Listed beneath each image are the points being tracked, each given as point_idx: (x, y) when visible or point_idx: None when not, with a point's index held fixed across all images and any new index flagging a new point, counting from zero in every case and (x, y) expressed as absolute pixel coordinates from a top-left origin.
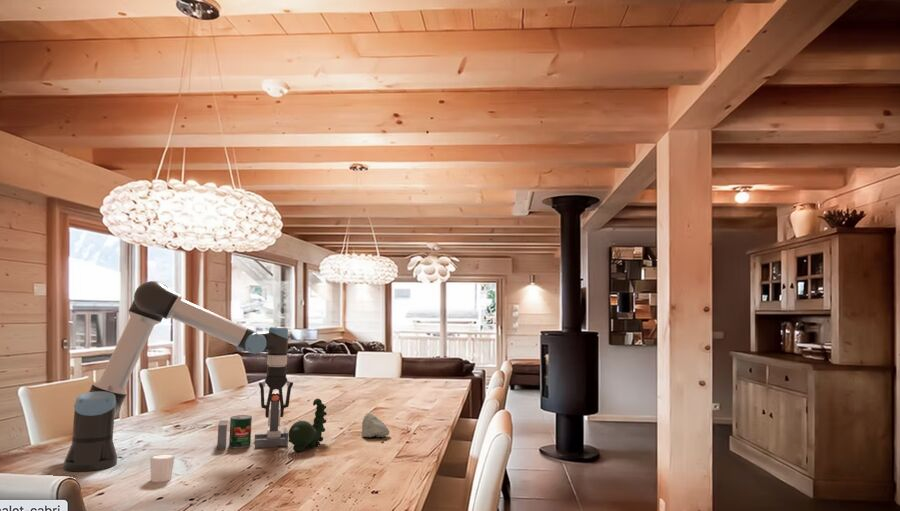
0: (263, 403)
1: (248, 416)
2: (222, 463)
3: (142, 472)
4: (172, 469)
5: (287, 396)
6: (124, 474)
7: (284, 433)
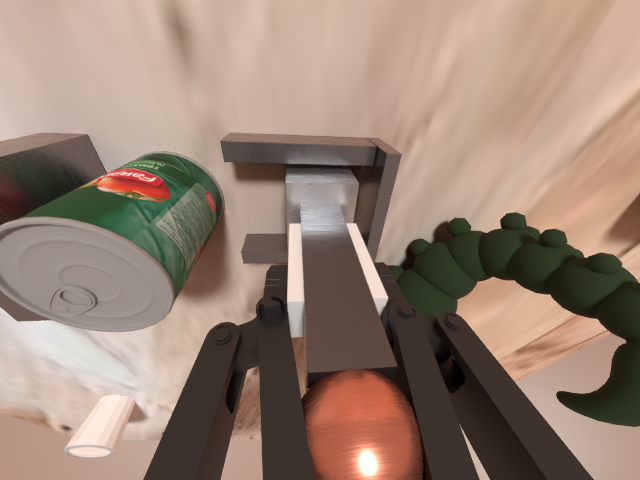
0: (231, 397)
1: (131, 251)
2: (193, 351)
3: (41, 379)
4: (126, 418)
5: (484, 455)
6: (10, 384)
7: (368, 213)
